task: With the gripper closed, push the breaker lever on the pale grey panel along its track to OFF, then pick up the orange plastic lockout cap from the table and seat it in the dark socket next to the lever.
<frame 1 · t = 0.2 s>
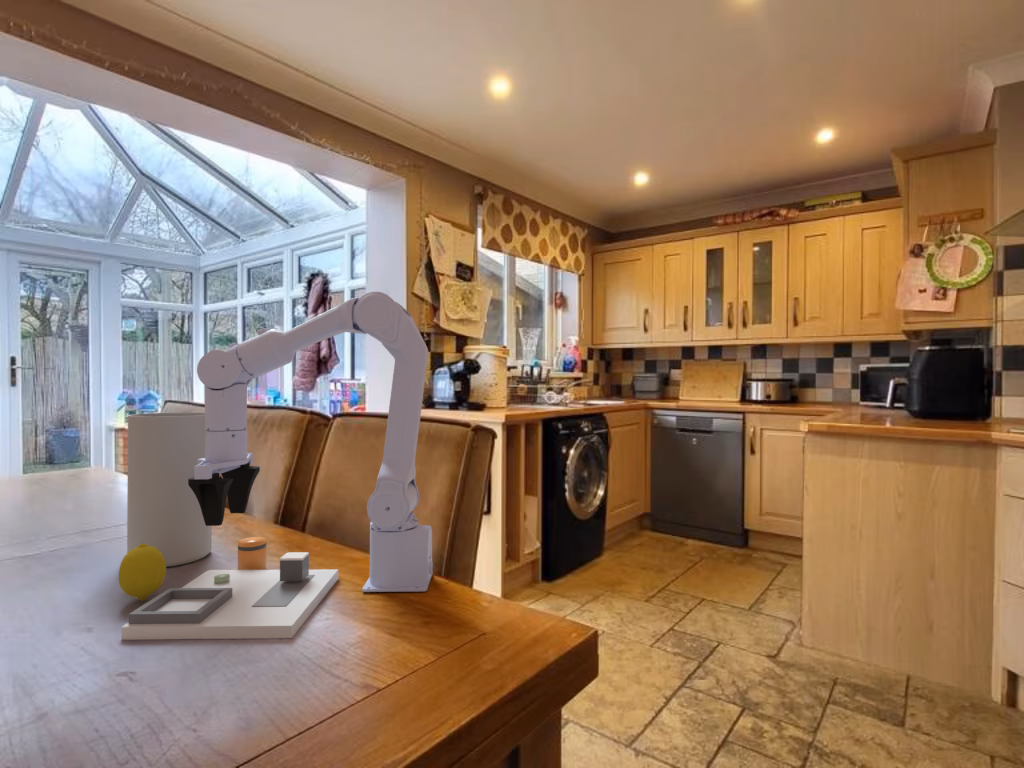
hand: (226, 518, 84), 10 cm above the table, fingers open, 7 cm apart
lockout cap: (252, 571, 90), on the table
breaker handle: (294, 566, 81), point 4 cm above the table, slide at 0.0 cm
cylinder vase: (170, 558, 96), on the table
board: (244, 605, 76), on the table
lemon: (142, 601, 77), on the table
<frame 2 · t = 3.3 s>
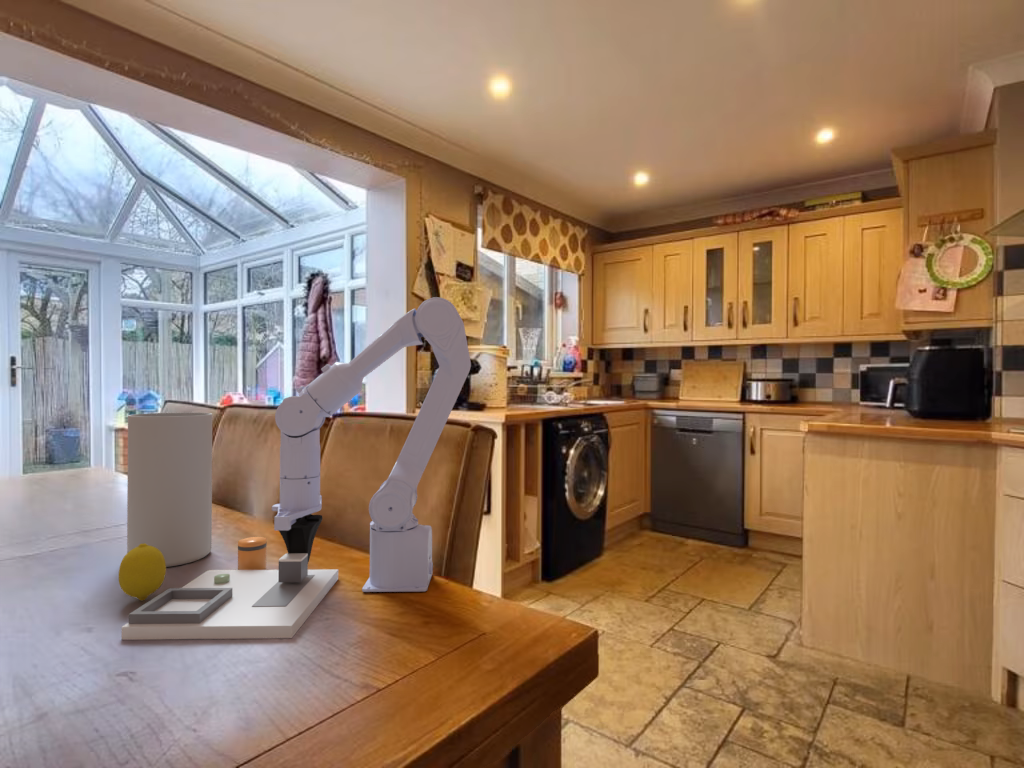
hand: (299, 565, 83), 3 cm above the table, fingers closed
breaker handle: (293, 567, 81), point 4 cm above the table, slide at 0.5 cm, touching gripper
everything else where it was.
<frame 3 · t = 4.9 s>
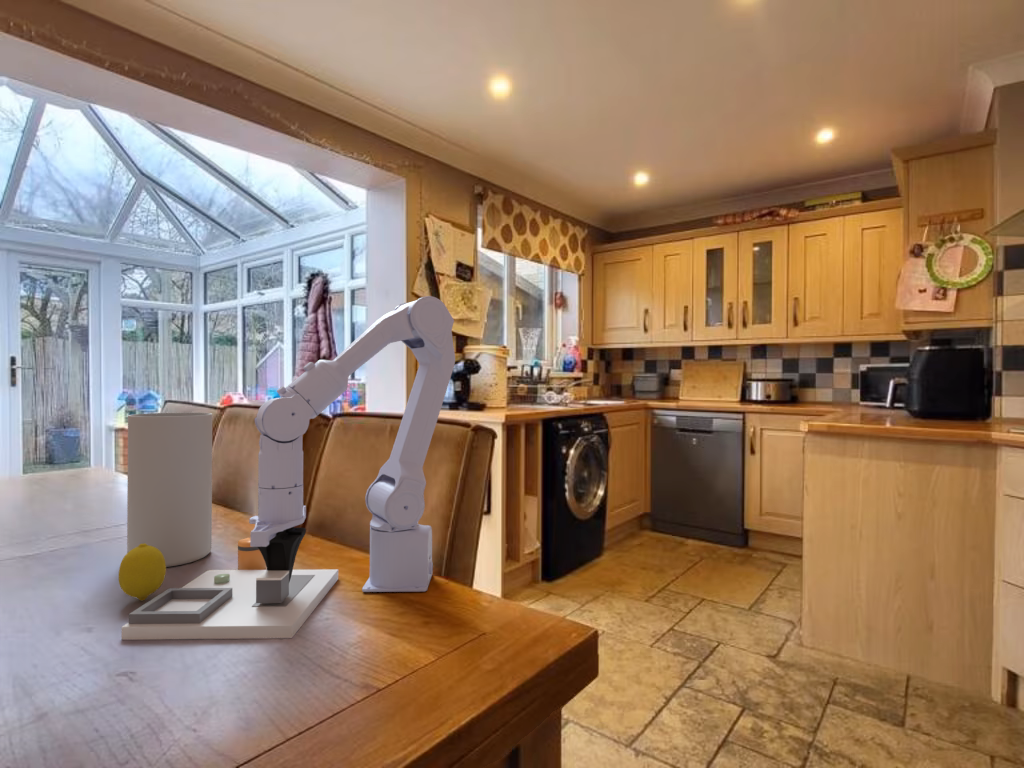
hand: (280, 584, 76), 3 cm above the table, fingers closed
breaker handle: (272, 586, 73), point 4 cm above the table, slide at 8.0 cm, touching gripper
everything else where it was.
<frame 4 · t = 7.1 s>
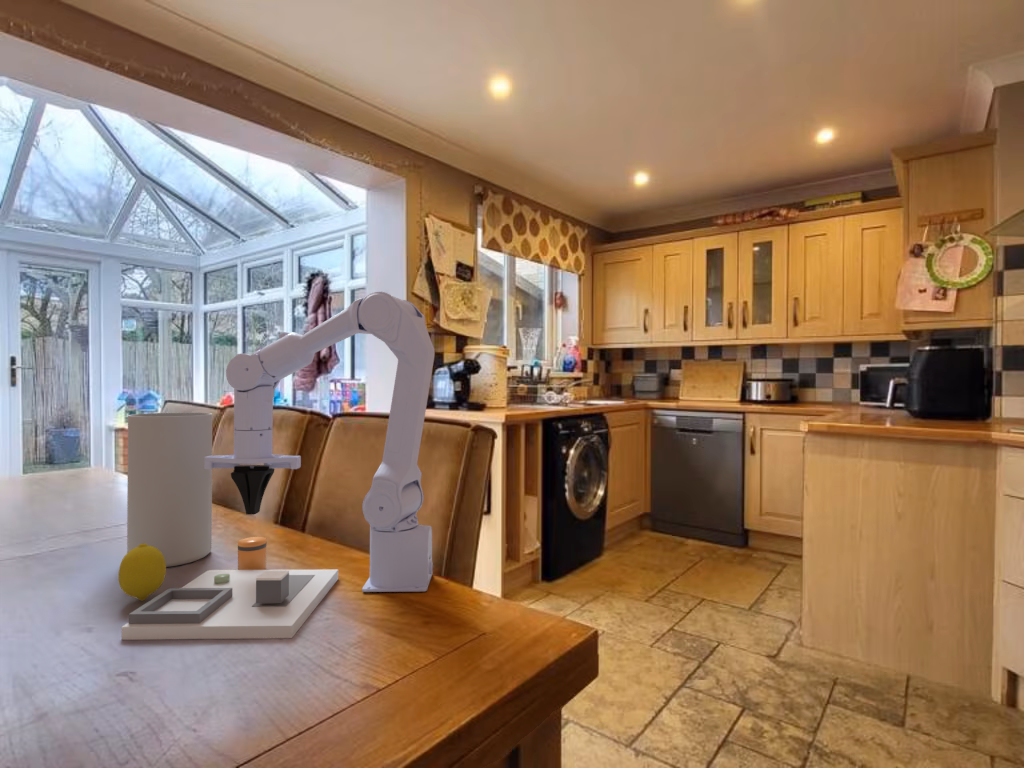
hand: (252, 513, 89), 9 cm above the table, fingers closed
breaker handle: (272, 586, 73), point 4 cm above the table, slide at 8.1 cm
everything else where it was.
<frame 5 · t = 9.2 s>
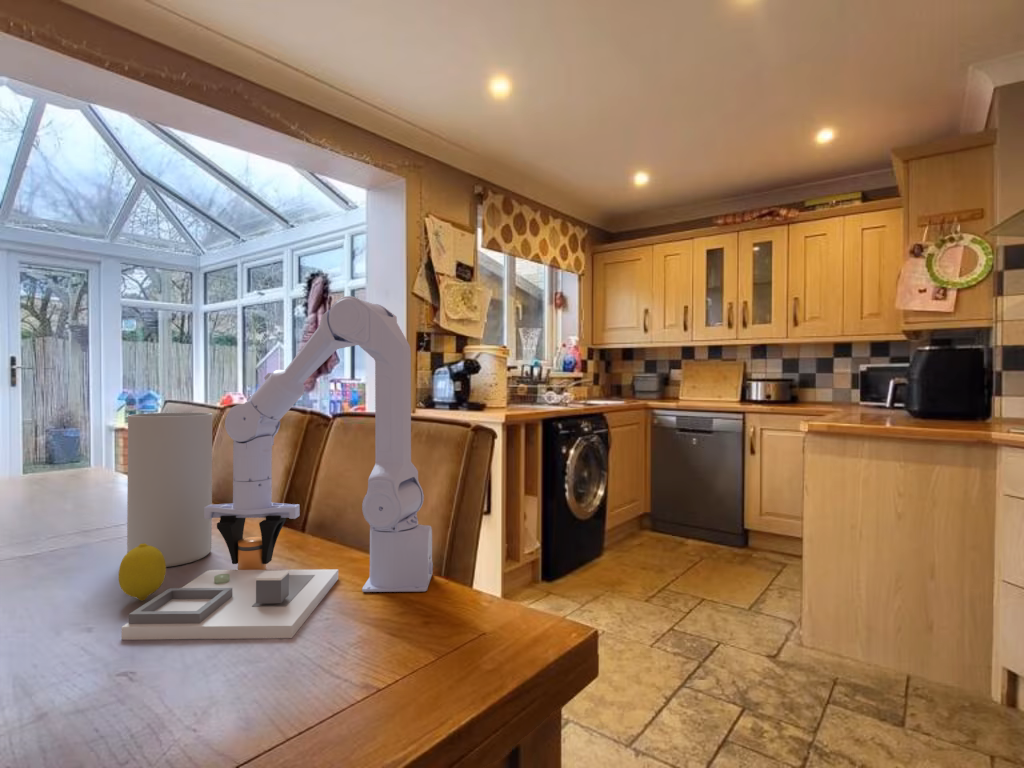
hand: (252, 562, 90), 1 cm above the table, fingers closed on lockout cap, 4 cm apart
lockout cap: (252, 570, 90), on the table, touching gripper
everything else where it was.
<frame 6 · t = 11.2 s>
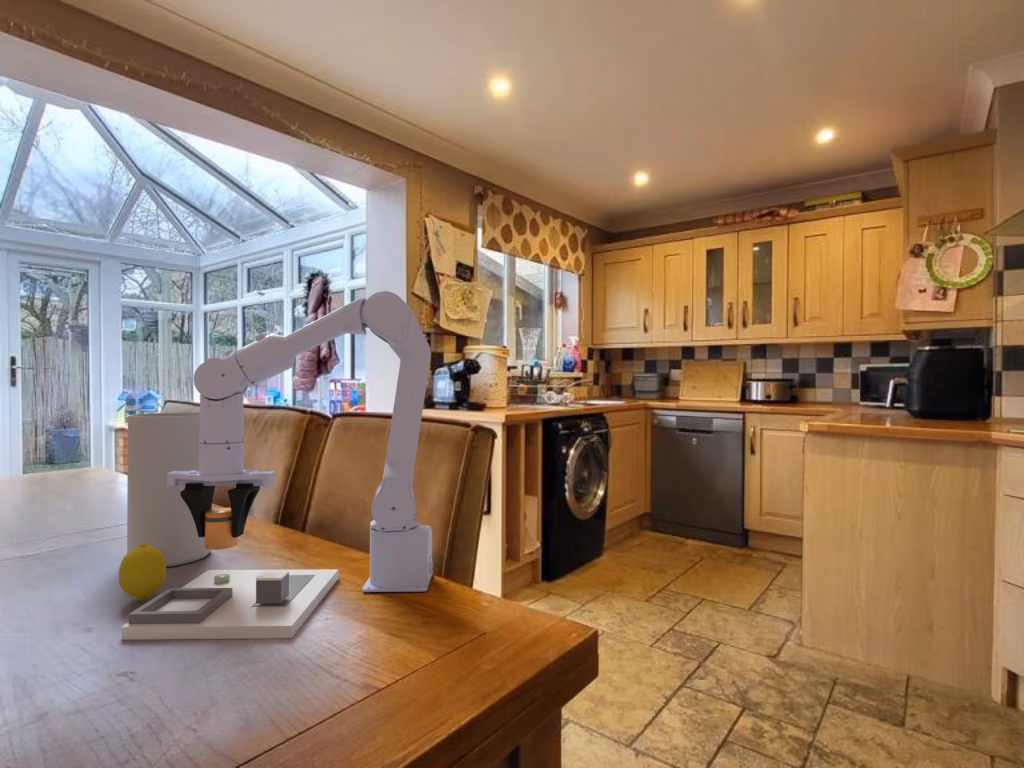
hand: (221, 535, 80), 8 cm above the table, fingers closed on lockout cap, 4 cm apart
lockout cap: (221, 545, 80), point 7 cm above the table, touching gripper
everything else where it was.
when the fingers open (4 cm above the table, at t = 13.1 s): lockout cap stays where it is, resting on board.
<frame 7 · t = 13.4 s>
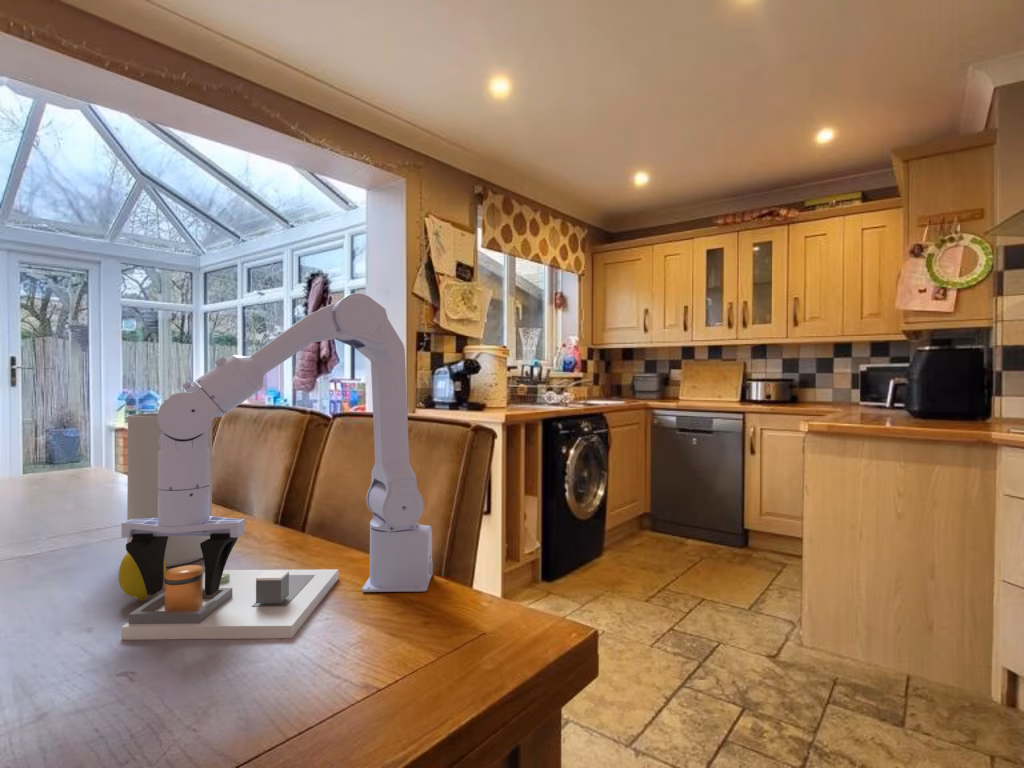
hand: (183, 592, 71), 4 cm above the table, fingers open, 7 cm apart
lockout cap: (183, 609, 71), point 1 cm above the table, touching board
everything else where it was.
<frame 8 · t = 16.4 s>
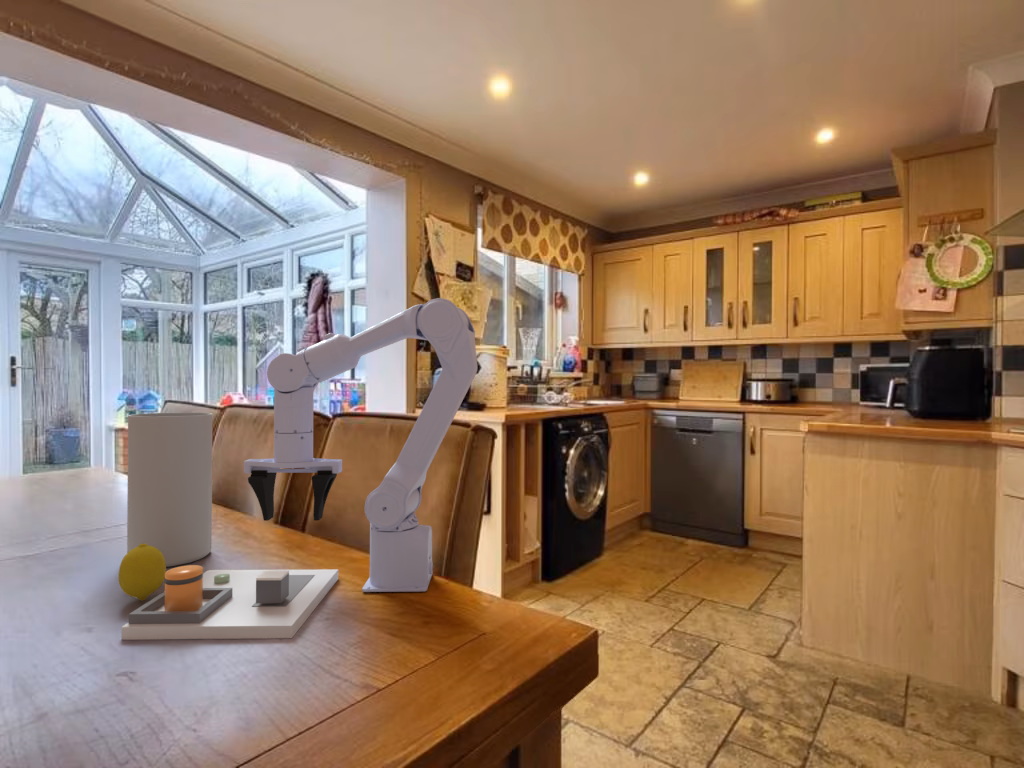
hand: (293, 519, 86), 9 cm above the table, fingers open, 7 cm apart
nothing on the table moved.
at the end: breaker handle slide at 8.1 cm; lockout cap 0.0 cm from the target spot on the board, point 1.5 cm above the board's base; lockout cap tilted 0° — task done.
